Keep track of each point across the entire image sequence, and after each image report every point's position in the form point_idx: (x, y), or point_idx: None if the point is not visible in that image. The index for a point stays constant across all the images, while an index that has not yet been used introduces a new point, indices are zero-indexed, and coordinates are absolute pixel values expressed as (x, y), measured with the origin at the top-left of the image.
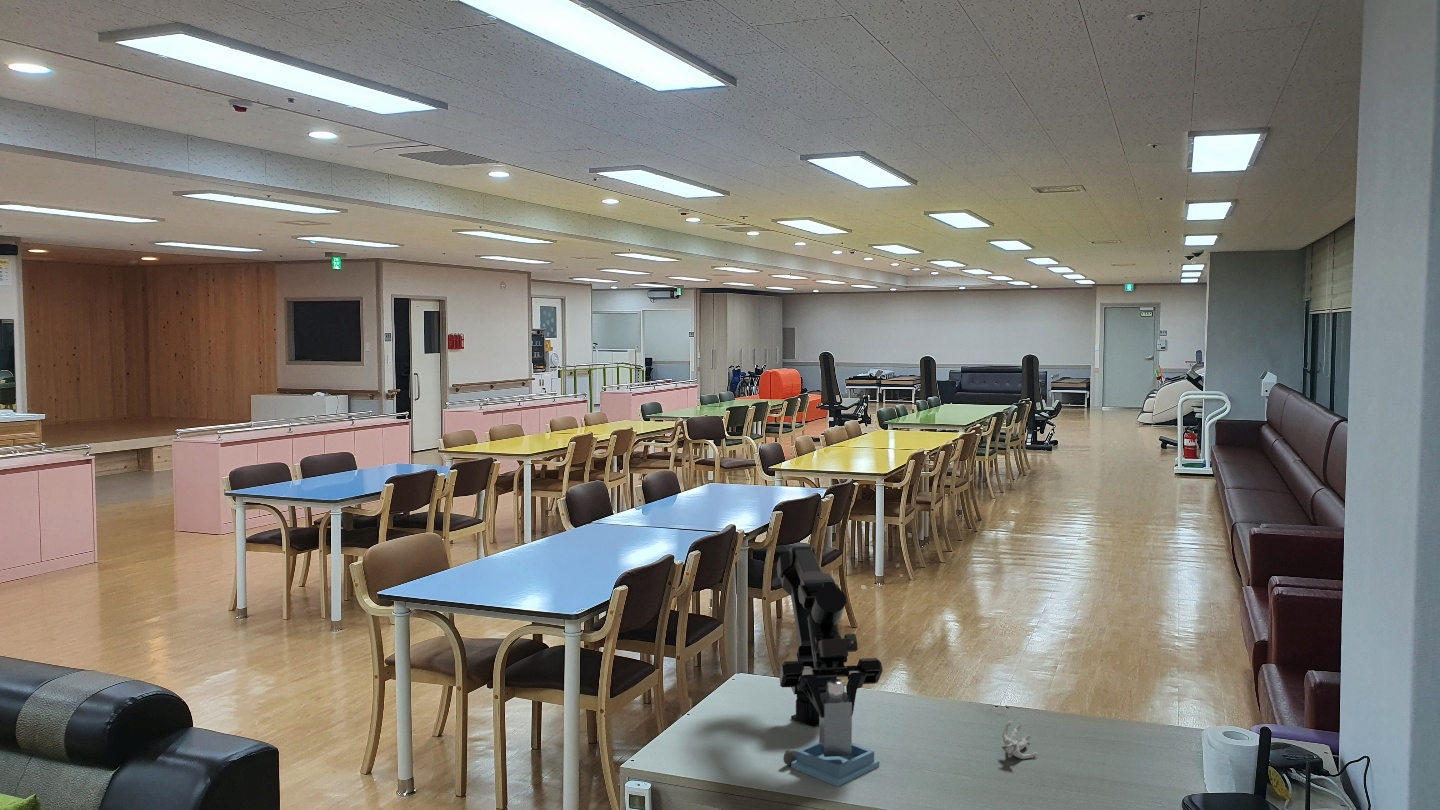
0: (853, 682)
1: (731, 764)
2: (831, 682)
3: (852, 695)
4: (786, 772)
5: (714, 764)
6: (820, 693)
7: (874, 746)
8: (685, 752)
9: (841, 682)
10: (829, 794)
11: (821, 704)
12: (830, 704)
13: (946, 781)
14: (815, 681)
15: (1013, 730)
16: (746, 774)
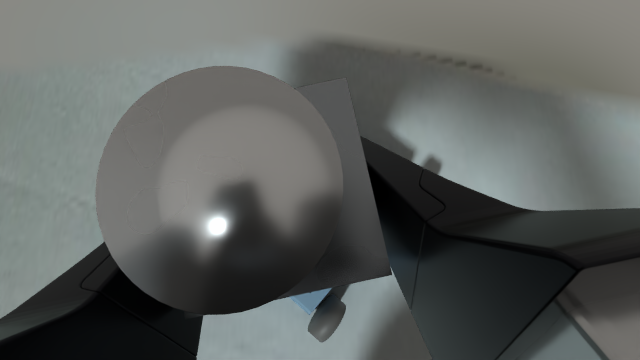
0: (20, 326)
1: (560, 187)
2: (275, 161)
3: None
4: (421, 156)
5: (602, 183)
6: (383, 273)
7: (203, 334)
8: None
9: (135, 170)
10: (318, 57)
11: (365, 155)
12: (305, 88)
13: (53, 146)
14: (495, 233)
15: None
16: (515, 136)
